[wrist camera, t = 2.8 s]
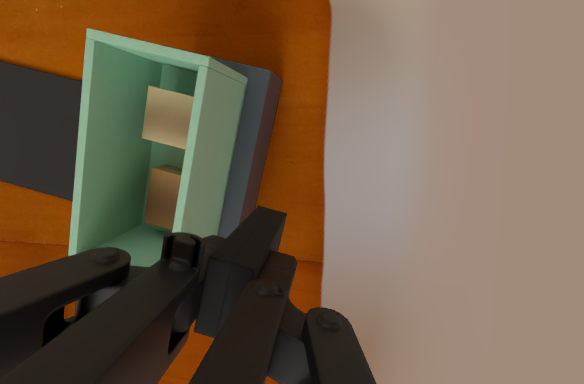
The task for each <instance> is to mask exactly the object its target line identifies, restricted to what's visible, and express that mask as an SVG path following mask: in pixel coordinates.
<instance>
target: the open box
mask: <svg viewBox="0 0 584 384" xmlns="http://www.w3.org/2000/svg"><path fill="white" fill-rule="evenodd" d="M247 81H248V78H247V77H245V76H244V75H242V74H240V73H238V72H236V71H234V70H233V69H231V68H229V67H227V66H225V65H224V64H222V63H220V62H218V61H216V60H215V59H213V58H211V57H209V56H205V55H201V54H196V53H192V52H188V51H183V50H179V49H175V48H171V47H166V46H162V45H158V44H154V43H149V42H145V41H141V40H136V39H132V38H128V37H124V36H119V35H115V34H111V33H107V32H102V31H98V30H94V29H89V28H87V33H86V43H85V56H84V68H83V80H82V93H81V105H80V117H79V130H78V142H77V154H76V167H75V179H74V191H73V204H72V216H71V229H70V241H69V253H68V256H71V255H75V254H78V253H81V252H84V251H87V250H91V249H95V248H102V247H115V248H119V249H122V250H125V251H126V252H128V253H129V254H130V256H131V263H130V265H133V266H143V267H150V266H152V265H153V264H155V263H156V262H157V261H159V260H160V258H161V252H162V246H163V239H164V235H166V234H168V233H174V232H186V233H191V234H195V235H197V236H200V237H201V238H204V237H207V236H211V235H216V236H217V235H218V230H219V225H220V220H221V215H222V209H223V204H224V199H225V194H226V189H227V184H228V179H229V174H230V168H231V163H232V158H233V153H234V148H235V143H236V138H237V133H238V127H239V122H240V117H241V112H242V107H243V102H244V97H245V92H246V87H247ZM149 85H150V86H154V87H159V88H164V89H168V90H173V91H177V92H181V93H185V94H189V95H193V96H194V99H193V106H192V112H191V118H190V124H189V131H188V137H187V143H186V149H182V148H178V147H174V146H170V145H166V144H163V143H159V142H155V141H151V140H147V139H143V138H142V132H143V124H144V116H145V108H146V101H147V93H148V86H149ZM162 165H170V166H174V167H177V168H181V169H182V174H181V181H180V187H179V193H178V199H177V206H176V212H175V218H174V224H173V231H172V230H169V229H165V228H162V227H158V226H155V225H151V224H148V223H145V222H144V220H145V213H146V205H147V198H148V191H149V183H150V176H151V169H152V168H153V167H158V166H162Z"/></svg>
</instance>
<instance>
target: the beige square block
mask: <svg viewBox="0 0 584 384" xmlns="http://www.w3.org/2000/svg"><path fill="white" fill-rule="evenodd" d="M193 99H194V96H193V95H189V94H185V93H181V92H177V91H173V90H168V89H164V88H159V87H154V86H150V85H149V86H148V93H147V101H146V108H145V116H144V124H143V132H142V138H143V139H147V140H151V141H155V142H159V143H163V144H166V145H170V146H174V147H178V148H182V149H186V143H187V137H188V131H189V124H190V118H191V112H192V106H193Z"/></svg>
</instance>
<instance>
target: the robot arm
mask: <svg viewBox="0 0 584 384" xmlns="http://www.w3.org/2000/svg"><path fill="white" fill-rule="evenodd" d="M286 216H287V213H283V212H279V211H276V210H272V209H268V208H265V207H261V206H258V207H257V208H256V209H255V210H254V211H253V212H252V213H251V214H250V215H249V216H248V217H247V218H246V219H245V220H244V221H243V222H242V223H241V224H240V225H239V226H238V227H237V228H236V229H235V230H234V231H233V232H232V233H231V234H230V235H229V236H228V237H227V238H223V237H219V236H216V235H211V236H207V237H204V238H201V237H200V236H197V235H195V234H191V233H186V232H174V233H168V234H166V235H164V239H163V246H162V252H161V258H160V260H159V261H157V262H156V263H155V264H153V265H152V266H150V267H143V266H133V265H130V263H131V256H130V254H129V253H128V252H126V251H125V250H122V249H119V248H115V247H102V248H95V249H91V250H87V251H84V252H81V253H78V254H75V255H71V256H68V257H65V258H62V259H59V260H55V261H52V262H49V263H46V264H42V265H39V266H36V267H33V268H30V269H26V270H23V271H20V272H17V273H14V274H10V275H7V276H4V277H1V278H0V384H157V383H158V382H159V380H160V379H161V377H162V376H163V375H164V373H165V372H166V370H167V369H168V367H169V366H170V364H171V363H172V362H173V360H174V359H175V357H176V356H177V354H178V353H179V352H180V350H181V349H182V347H183V346H184V344H185V343H186V341H187V338H188V335H189V330H190V326H191V324H192V323H193V322H194V320H195V319H196V323H195V328H194V332H196V333H199V334H202V335H206V336H209V337H212V338H215V339H214V341H213V343H212V344H211V346H210V348H209V350H208V351H207V353H206V355H205V356H204V358H203V360H202V362H201V363H200V365H199V367H198V369H197V370H196V372H195V374H194V375H193V377H192V379H191V381H190V382H189V384H265V381H266V377H267V376H269V377H270V378H272V379H273V380H275V381H276V382H278V383H280V384H376V382H375V379H374V377H373V375H372V372H371V370H370V368H369V365H368V363H367V361H366V358H365V356H364V353H363V351H362V349H361V346H360V344H359V342H358V339H357V337H356V335H355V333H354V330H353V328H352V325H351V324H350V322H349V321H348V319H346V318H345V317H344V316H343V315H342V314H340V313H339V312H336V311H335V310H332V309H328V308H320V307H316V308H313V309H310V310H309V311H308V312H307V314H306V313H304V312H302V311H300V310H299V309H297V308H296V307H295V306H294V305H293V304H292V303H291V302H290V300H289V293H290V289H291V286H292V282H293V278H294V274H295V270H296V267H297V261H296V259H295V258H294V256H290V255H287V254H283V253H280V252H278V248H279V244H280V240H281V236H282V232H283V228H284V224H285V220H286ZM74 301H76V305H75V315H74V316H72V317H70V318H67V319H64V306H65V305H67V304H70V303H72V302H74Z"/></svg>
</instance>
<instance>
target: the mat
mask: <svg viewBox="0 0 584 384" xmlns="http://www.w3.org/2000/svg"><path fill="white" fill-rule="evenodd" d="M81 93H82V82H81V81H77V80H73V79H69V78H65V77H61V76H57V75H53V74H49V73H45V72H41V71H37V70H33V69H29V68H25V67H21V66H17V65H13V64H9V63H5V62H1V61H0V181H4V182H7V183H11V184H14V185H18V186H21V187H25V188H28V189H32V190H35V191H39V192H43V193H46V194H50V195H53V196H57V197H60V198H64V199H67V200H71V201H73V191H74V179H75V167H76V154H77V142H78V130H79V117H80V105H81Z"/></svg>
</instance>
